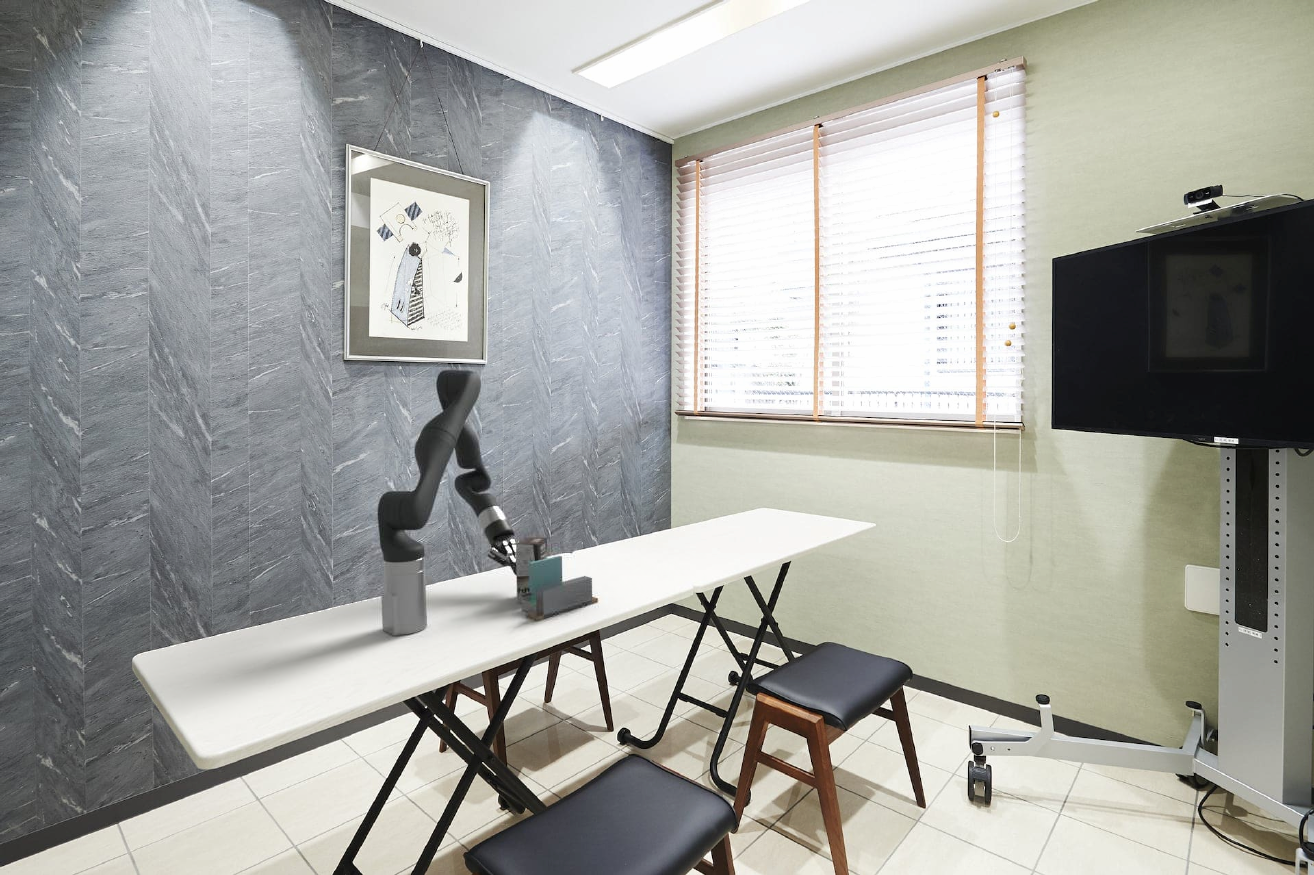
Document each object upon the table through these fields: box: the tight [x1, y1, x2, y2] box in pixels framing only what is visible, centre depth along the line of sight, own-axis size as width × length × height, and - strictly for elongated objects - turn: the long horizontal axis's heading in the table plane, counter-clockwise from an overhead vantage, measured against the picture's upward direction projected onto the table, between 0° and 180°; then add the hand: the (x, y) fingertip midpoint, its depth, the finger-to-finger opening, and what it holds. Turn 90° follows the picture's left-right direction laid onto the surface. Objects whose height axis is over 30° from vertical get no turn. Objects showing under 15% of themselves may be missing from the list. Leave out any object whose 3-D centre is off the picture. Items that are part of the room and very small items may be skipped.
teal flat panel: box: [522, 555, 563, 599], centre depth 173 cm, size 13×1×10 cm, turn 137°
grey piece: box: [521, 575, 599, 622], centre depth 171 cm, size 20×10×7 cm, turn 137°
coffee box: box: [515, 536, 548, 603], centre depth 179 cm, size 9×6×16 cm
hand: (521, 574), depth 182 cm, fingers closed
